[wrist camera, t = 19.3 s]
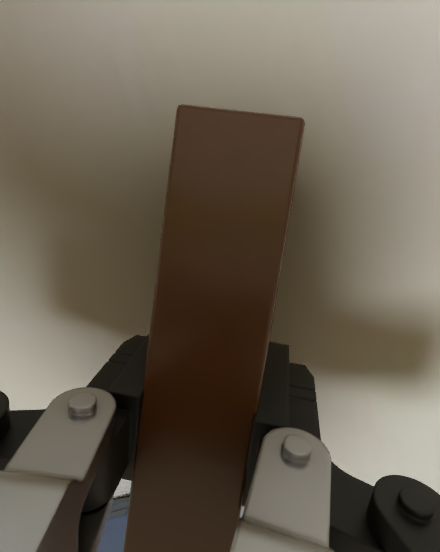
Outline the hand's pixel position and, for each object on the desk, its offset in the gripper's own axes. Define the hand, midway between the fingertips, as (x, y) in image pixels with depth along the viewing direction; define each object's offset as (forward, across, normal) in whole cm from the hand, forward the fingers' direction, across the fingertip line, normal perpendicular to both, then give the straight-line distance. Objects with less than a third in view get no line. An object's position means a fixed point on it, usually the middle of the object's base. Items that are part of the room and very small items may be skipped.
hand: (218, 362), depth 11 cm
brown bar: (0, 0, +3) cm, 3 cm away
